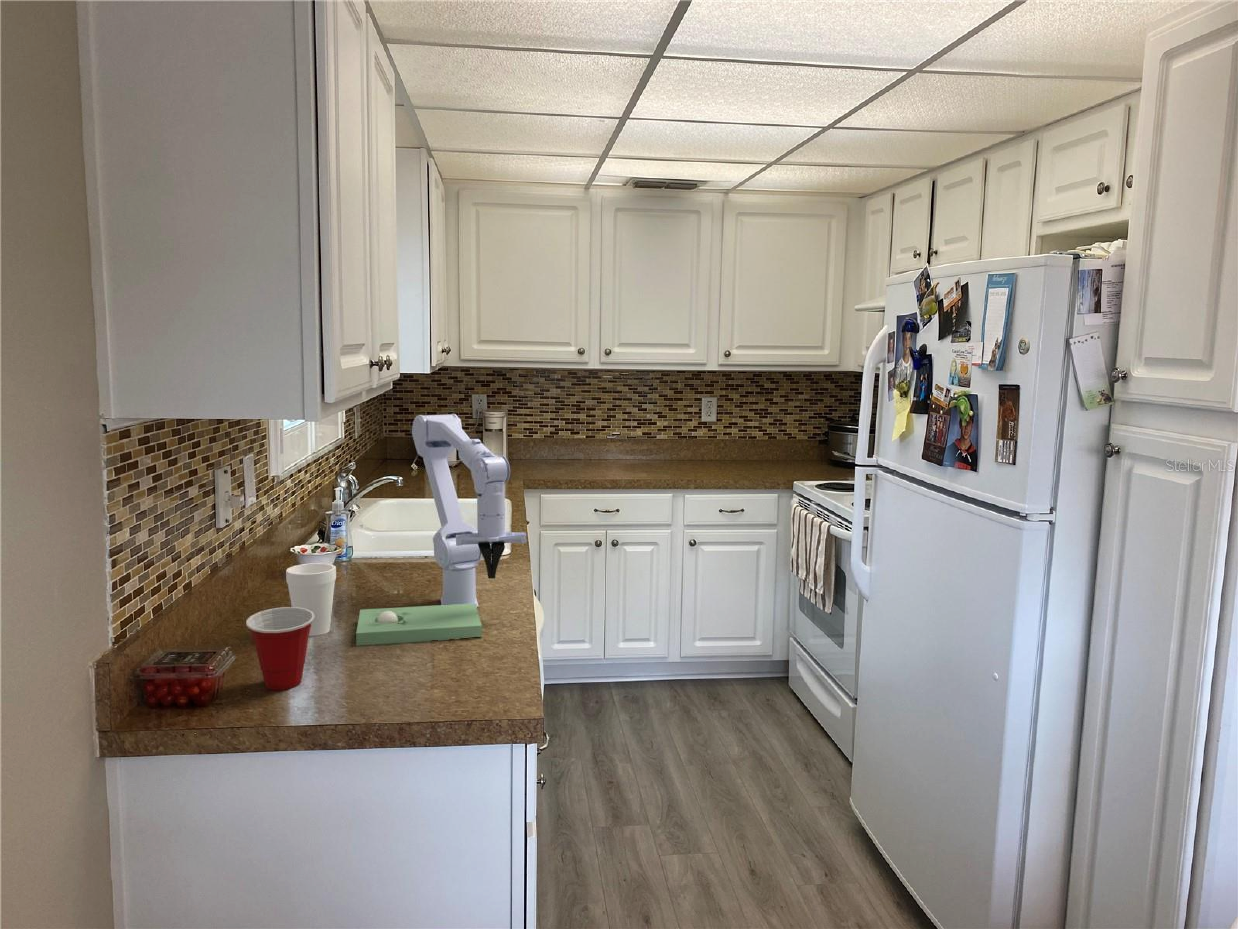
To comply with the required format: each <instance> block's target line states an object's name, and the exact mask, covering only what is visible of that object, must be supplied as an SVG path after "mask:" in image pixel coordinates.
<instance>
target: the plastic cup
mask: <svg viewBox="0 0 1238 929" xmlns="http://www.w3.org/2000/svg"><path fill="white" fill-rule="evenodd" d="M314 617H315V616H314V613H313V612H312V611H310V610H308V609H304V608H298V607H292V606H283V607H282V606H281V607H275V608H270V609H269V608H268V609H265V610H261V611H258V612H255V613H254V614H252V615H250V616H249V617H248V618H247V619H246V620H245V621H246V627H247V628H248V629H249V630H250V632H251V635H252V639H253V641H254V645H255V649H256V653H257V658H258V663H259V667H260V670H261V674H262V679H263V682H264V685H265V688H266V689H268V690H273V691H283V690H289V689H294V688H295V687H298V686H299V685H301V683H302V680H303V675H304V666H305V663H306V657H307V648H308V642H309V637H310V636H309V633H310V628H311V623H312V621H313V620H314Z"/></svg>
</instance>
